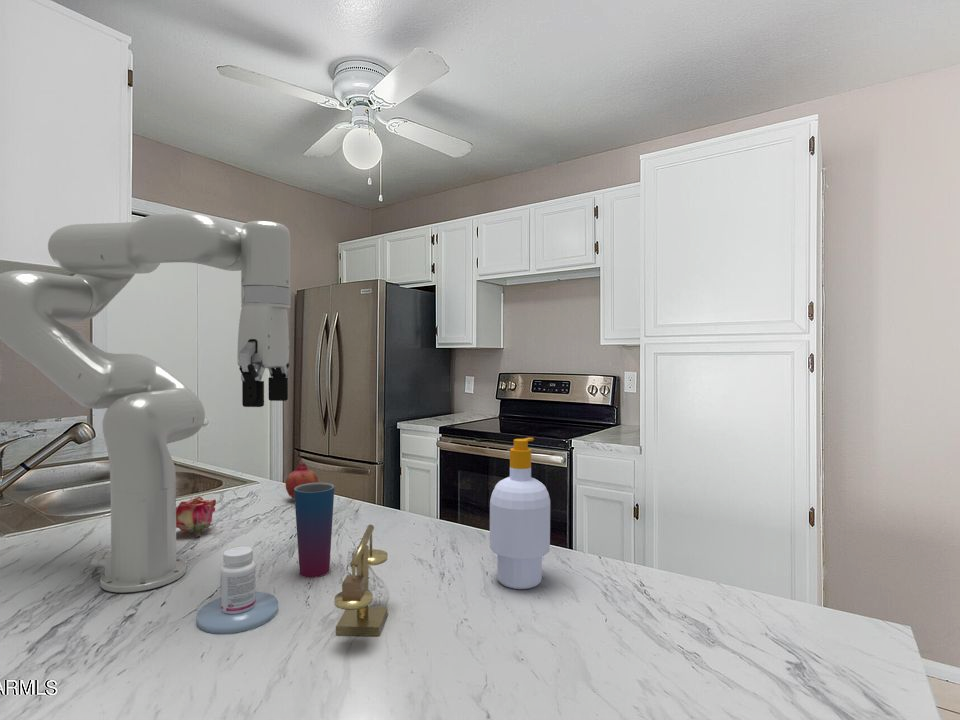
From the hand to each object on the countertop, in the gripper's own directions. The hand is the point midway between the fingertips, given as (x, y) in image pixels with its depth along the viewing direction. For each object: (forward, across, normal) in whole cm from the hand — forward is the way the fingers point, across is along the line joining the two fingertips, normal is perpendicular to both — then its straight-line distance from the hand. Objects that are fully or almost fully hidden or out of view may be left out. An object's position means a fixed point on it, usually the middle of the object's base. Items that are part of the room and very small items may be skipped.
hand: (266, 403), depth 92 cm
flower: (+31, -24, -26) cm, 47 cm away
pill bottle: (+30, +10, 0) cm, 31 cm away
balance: (+30, +12, +19) cm, 38 cm away
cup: (+31, -6, +6) cm, 32 cm away
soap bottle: (+31, -4, +42) cm, 52 cm away
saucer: (+30, +10, 0) cm, 32 cm away
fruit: (+31, -50, -12) cm, 60 cm away
